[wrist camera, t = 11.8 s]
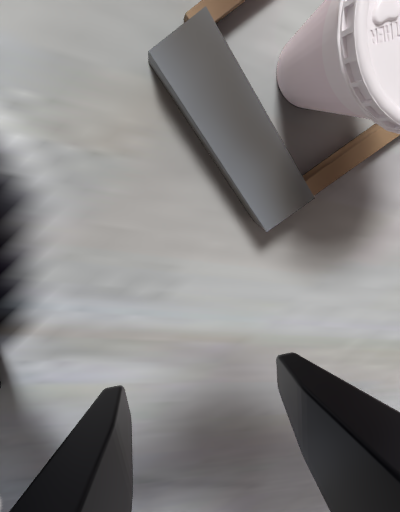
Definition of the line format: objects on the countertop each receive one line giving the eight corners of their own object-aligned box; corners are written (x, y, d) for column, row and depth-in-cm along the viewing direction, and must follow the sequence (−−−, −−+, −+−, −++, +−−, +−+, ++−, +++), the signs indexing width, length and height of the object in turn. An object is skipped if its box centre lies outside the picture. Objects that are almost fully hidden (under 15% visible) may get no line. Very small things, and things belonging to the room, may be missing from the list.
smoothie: (328, -34, 17) (924, -579, 4) (388, 81, 19) (900, -28, 6) (226, 59, 18) (447, -146, 5) (295, 159, 20) (577, 211, 7)
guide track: (257, 227, 21) (271, 239, 19) (142, 52, 17) (140, 39, 15) (535, 30, 19) (588, 16, 17) (475, -211, 16) (533, -271, 13)
